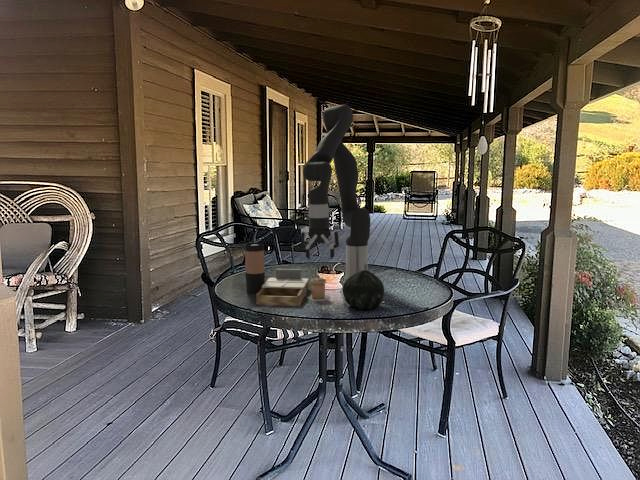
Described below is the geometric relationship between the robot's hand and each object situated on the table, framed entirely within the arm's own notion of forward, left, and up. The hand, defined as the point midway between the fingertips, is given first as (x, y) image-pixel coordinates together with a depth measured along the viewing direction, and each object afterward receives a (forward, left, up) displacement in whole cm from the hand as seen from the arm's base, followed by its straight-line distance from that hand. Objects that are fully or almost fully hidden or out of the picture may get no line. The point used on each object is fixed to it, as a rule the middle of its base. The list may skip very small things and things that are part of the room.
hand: (320, 258), depth 191 cm
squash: (-17, +8, -16) cm, 25 cm away
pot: (+1, 0, -15) cm, 15 cm away
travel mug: (+27, -8, -16) cm, 33 cm away
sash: (+14, -5, -11) cm, 19 cm away
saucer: (+1, 0, -16) cm, 16 cm away
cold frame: (+14, -1, -16) cm, 21 cm away
